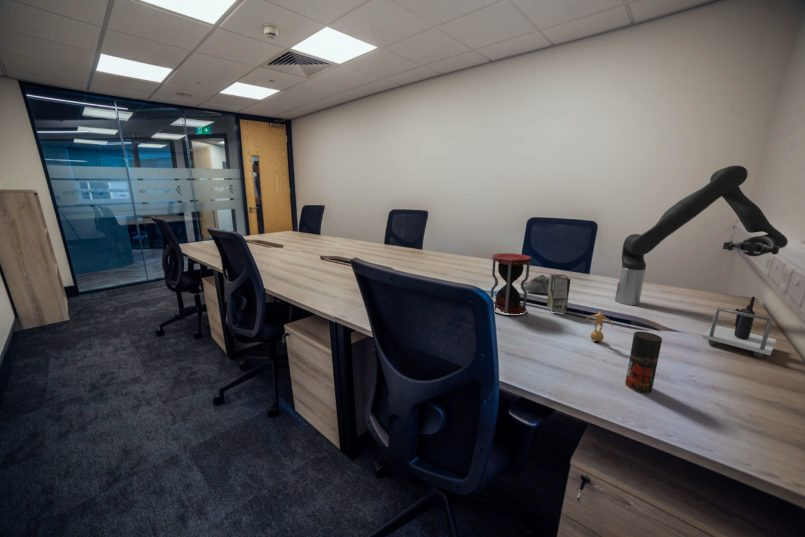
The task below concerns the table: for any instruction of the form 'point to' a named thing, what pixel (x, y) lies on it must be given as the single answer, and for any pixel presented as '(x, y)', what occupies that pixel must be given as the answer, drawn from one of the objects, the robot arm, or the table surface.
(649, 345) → the deodorant
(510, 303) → the hourglass
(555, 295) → the coffee box
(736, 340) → the dolly
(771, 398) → the table surface
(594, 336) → the figurine
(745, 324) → the two-way radio
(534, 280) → the mineral rock
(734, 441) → the table surface
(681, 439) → the table surface
